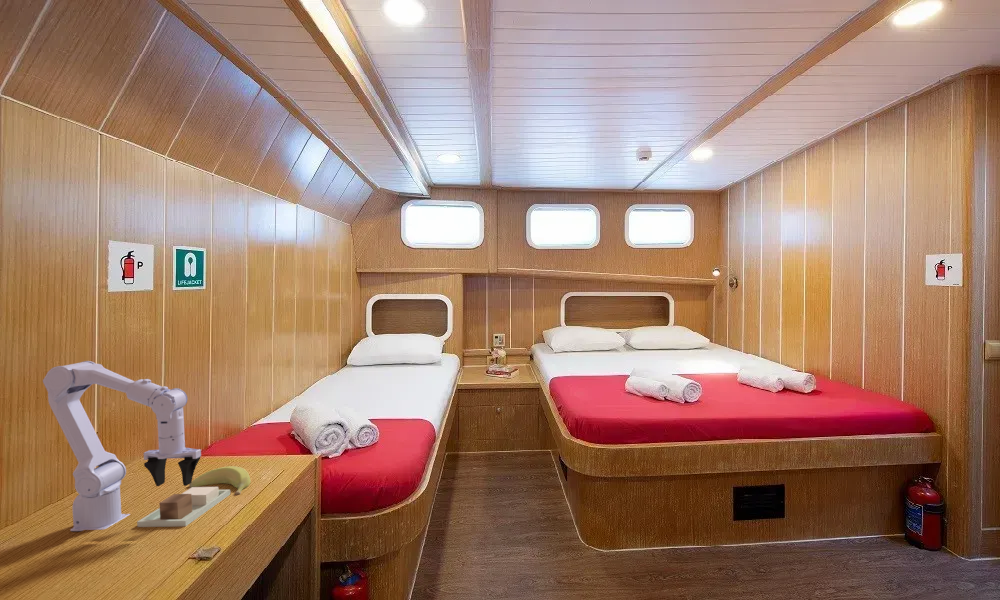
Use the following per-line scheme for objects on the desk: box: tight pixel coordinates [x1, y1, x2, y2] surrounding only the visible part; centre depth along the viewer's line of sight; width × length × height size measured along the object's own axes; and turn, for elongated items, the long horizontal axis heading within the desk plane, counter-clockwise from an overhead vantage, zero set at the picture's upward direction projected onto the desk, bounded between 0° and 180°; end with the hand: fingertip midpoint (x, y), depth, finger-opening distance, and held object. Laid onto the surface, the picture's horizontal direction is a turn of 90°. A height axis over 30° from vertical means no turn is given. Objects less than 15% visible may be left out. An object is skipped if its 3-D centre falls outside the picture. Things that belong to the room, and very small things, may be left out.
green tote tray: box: [136, 489, 231, 528], centre depth 124 cm, size 13×18×2 cm
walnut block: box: [158, 493, 192, 520], centre depth 120 cm, size 5×5×5 cm
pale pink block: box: [181, 486, 220, 506], centre depth 129 cm, size 8×5×3 cm, turn 88°
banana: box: [188, 465, 252, 496], centre depth 138 cm, size 14×6×20 cm
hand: (173, 484), depth 120 cm, fingers open, 7 cm apart
